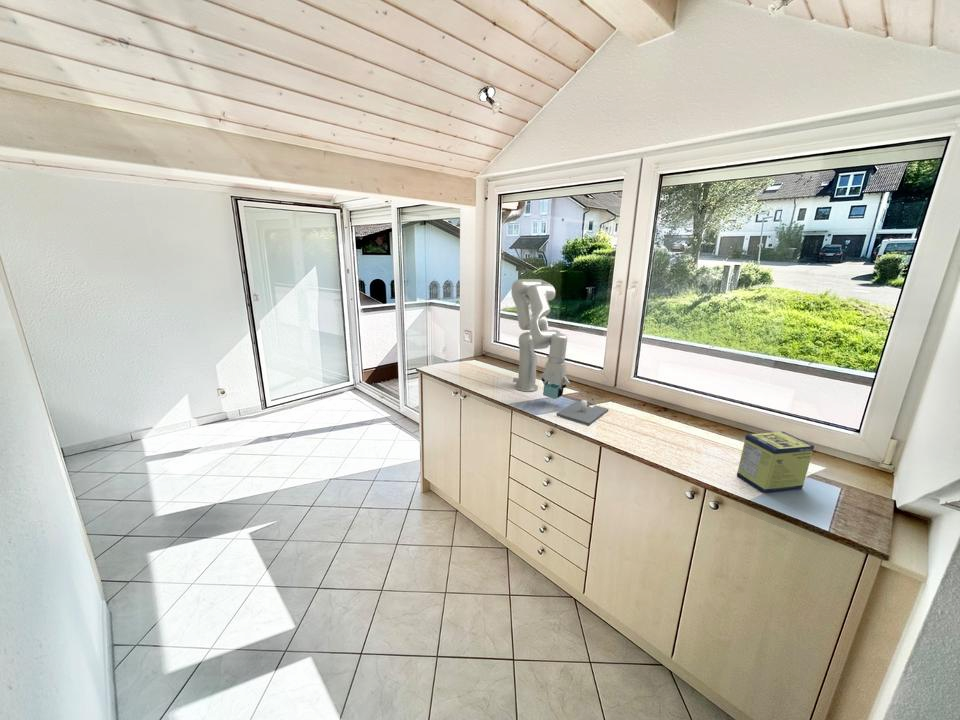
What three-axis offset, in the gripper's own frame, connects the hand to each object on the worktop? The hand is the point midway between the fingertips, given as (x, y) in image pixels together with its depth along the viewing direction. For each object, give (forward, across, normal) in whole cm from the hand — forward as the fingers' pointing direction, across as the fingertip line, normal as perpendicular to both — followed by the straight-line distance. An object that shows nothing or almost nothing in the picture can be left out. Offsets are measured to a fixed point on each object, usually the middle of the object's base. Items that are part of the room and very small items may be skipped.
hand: (552, 393), depth 184 cm
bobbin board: (+5, +16, 0) cm, 17 cm away
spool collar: (+1, 0, 0) cm, 1 cm away
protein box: (+2, +87, -12) cm, 88 cm away
